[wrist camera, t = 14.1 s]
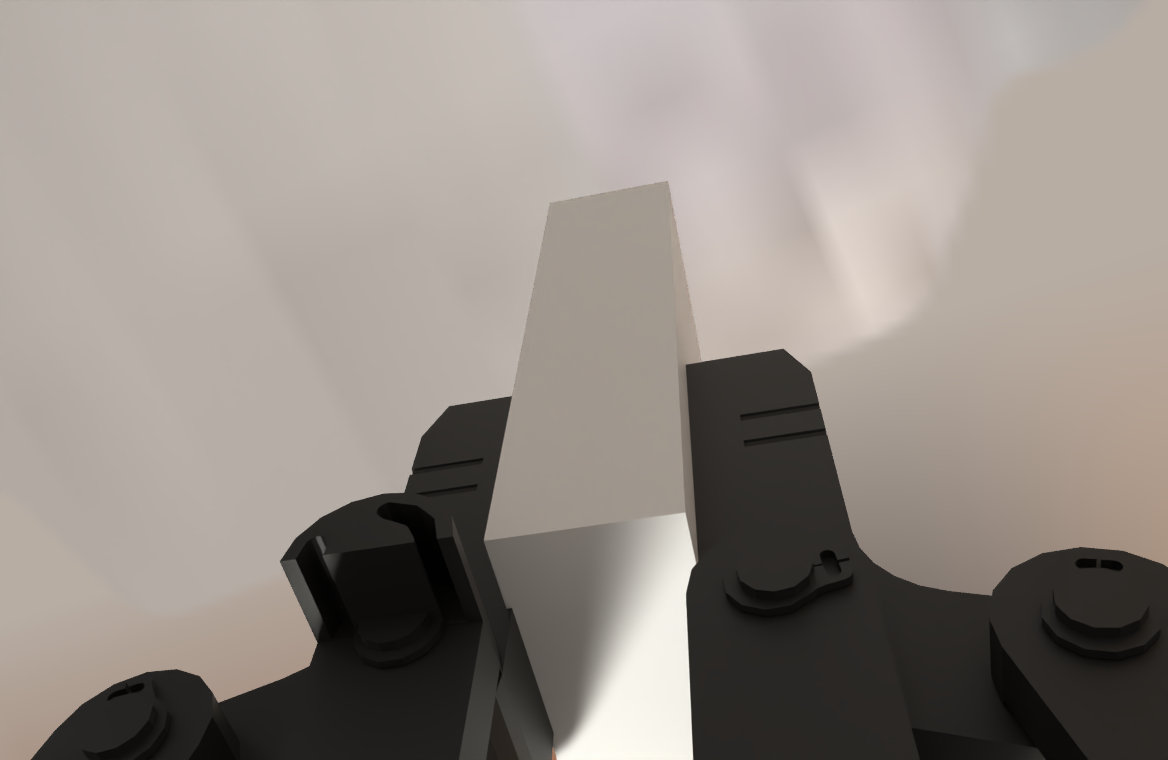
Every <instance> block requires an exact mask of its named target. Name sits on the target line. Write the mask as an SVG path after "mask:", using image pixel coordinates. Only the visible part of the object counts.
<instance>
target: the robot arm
mask: <svg viewBox="0 0 1168 760" xmlns="http://www.w3.org/2000/svg"><path fill="white" fill-rule="evenodd" d="M412 472H413V475H410V476H409V480H408V483H407V486H406V489H405V492H404V493H388V494H381V495H377V496H373V497H369V498H366V499H362V500H358V501H354V502H351V503H349V504H347V505H345V506H343V507H341V508H339V509H337V510H335V511H333V512H331V513H329V514H327V515H325V516H323V517H321V518H320V519H319V520H318V521H316V522H315V523H314V524H313V525H311V526H310V527H309V528H308V529H307V530H305V531H304V532H303V533H302V534H300V535H299V536H298V537H297V538H296V539H295V540H294V542H293V543H292V544H291V546H290V547H289V549H288V550H287V552H286V553H285V555H284V556H283V558H282V559H281V561H280V563H281V565H282V567H283V569H284V571H285V574H286V576H287V578H288V580H289V582H290V584H291V587H292V589H293V591H294V593H295V595H296V597H297V599H298V602H299V604H300V606H301V608H302V610H303V612H304V615H305V616H306V619H307V621H308V623H309V625H310V627H311V629H312V632H313V634H314V636H315V638H316V640H317V642H318V644H317V647H316V649H315V652H314V655H313V658H312V661H311V664H310V666H309V667H307V668H305V669H303V670H301V671H298V672H296V673H294V674H292V675H290V676H288V677H285V678H283V679H281V680H278V681H275V682H273V683H270V684H267V685H265V686H262V687H259V688H257V689H254V690H252V691H249V692H246V693H244V694H241V695H238V696H236V697H233V698H230V699H228V700H225V701H222V702H220V703H218V702H217V700H216V698H215V697H214V695H213V693H212V691H211V690H210V689H209V688H208V686H207V685H206V684H205V683H204V681H203V680H202V679H201V677H200V676H197V675H194V674H191V673H187V672H184V671H180V670H177V669H176V670H165V671H154V672H146V673H144V674H141V675H138V676H135V677H133V678H130V679H127V680H125V681H122V682H119V683H117V684H114V685H112V686H111V687H109V688H108V689H106V690H105V691H103V692H101V693H100V694H98V695H97V696H95V697H93V698H92V699H90V700H89V701H87V702H85V703H84V704H82V705H81V706H80V707H79V708H78V709H77V710H76V711H75V712H74V713H73V714H72V715H71V716H70V717H69V718H68V719H67V720H65V722H63V723H62V724H61V725H60V726H59V727H58V728H57V729H56V730H55V731H54V732H53V734H52V735H51V736H50V737H49V739H48V740H47V741H46V742H45V743H44V744H43V746H42V747H41V748H40V749H39V750H38V752H37V753H36V754H35V755H34V757H33V758H32V759H31V760H552V748H554V751H555V754H556V757H557V760H1168V567H1166V566H1165V565H1163V564H1160V563H1158V562H1155V561H1152V560H1149V559H1146V558H1143V557H1140V556H1137V555H1134V554H1131V553H1128V552H1125V551H1118V550H1107V549H1106V550H1105V549H1095V548H1084V547H1079V548H1073V549H1066V550H1060V551H1054V552H1047V553H1042V554H1040V555H1038V556H1036V557H1034V558H1032V559H1030V560H1028V561H1026V562H1024V563H1021V564H1019V565H1018V566H1015V567H1013V568H1011V570H1010V571H1009V572H1008V573H1007V574H1006V576H1005V577H1004V578H1003V579H1002V580H1001V582H1000V583H999V584H998V585H997V586H996V587H995V589H994V590H993V593H992V596H989V595H979V594H970V593H961V592H952V591H945V590H939V589H935V588H930V587H924V586H919V585H917V584H914V583H911V582H909V581H906V580H903V579H901V578H898V577H896V576H894V575H892V574H890V573H889V572H887V571H886V570H884V569H882V568H881V567H879V566H878V565H876V564H875V563H873V562H872V560H870V559H869V557H867V555H866V554H865V553H864V552H863V551H862V550H861V549H860V548H859V545H858V543H857V541H856V539H855V537H854V535H853V533H852V530H851V526H850V522H849V518H848V514H847V510H846V506H845V502H844V499H843V495H842V491H841V487H840V484H839V479H838V475H837V471H836V467H835V464H834V460H833V456H832V452H831V448H830V444H829V440H828V436H827V435H826V429H825V425H824V421H823V417H822V413H821V409H820V407H819V401H818V397H817V394H816V390H815V386H814V382H813V378H812V374H811V372H810V371H809V370H808V369H807V368H806V367H804V366H803V365H802V364H801V363H800V362H798V361H797V360H796V359H795V358H794V357H793V356H791V355H790V354H789V353H788V352H787V351H785V350H784V349H779V350H773V351H767V352H761V353H755V354H748V355H742V356H736V357H730V358H724V359H718V360H711V361H705V362H702V360H701V355H700V350H699V344H698V339H697V333H696V328H695V323H694V317H693V312H692V307H691V301H690V296H689V291H688V285H687V280H686V275H685V269H684V264H683V258H682V253H681V248H680V242H679V237H678V232H677V226H676V221H675V216H674V210H673V205H672V200H671V194H670V189H669V184H668V181H665V182H660V183H655V184H649V185H644V186H639V187H633V188H628V189H623V190H617V191H612V192H607V193H602V194H596V195H591V196H586V197H580V198H575V199H570V200H564V201H559V202H554V203H550V205H549V210H548V216H547V221H546V226H545V231H544V236H543V241H542V246H541V251H540V256H539V261H538V267H537V272H536V277H535V282H534V287H533V292H532V297H531V302H530V307H529V312H528V318H527V323H526V328H525V333H524V338H523V343H522V348H521V353H520V358H519V363H518V369H517V374H516V379H515V384H514V389H513V394H512V396H510V397H504V398H498V399H492V400H486V401H479V402H473V403H467V404H461V405H455V406H449V407H448V408H447V409H446V410H445V412H444V413H443V414H442V415H441V416H440V417H439V418H438V419H437V420H436V422H435V423H434V424H433V425H432V426H431V427H430V428H429V429H428V431H427V432H426V433H425V434H424V435H423V436H422V438H421V441H420V444H419V447H418V451H417V454H416V457H415V460H414V463H413V467H412Z"/></svg>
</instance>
